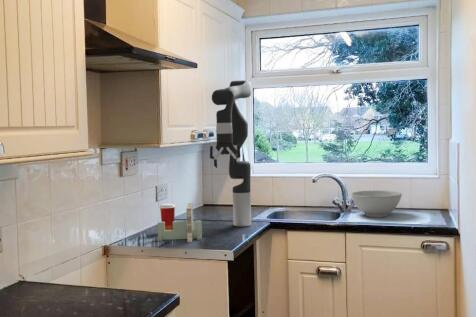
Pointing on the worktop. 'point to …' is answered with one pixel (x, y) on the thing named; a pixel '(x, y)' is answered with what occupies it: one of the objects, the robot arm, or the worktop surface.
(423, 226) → the worktop surface
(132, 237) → the worktop surface
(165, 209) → the paper cup
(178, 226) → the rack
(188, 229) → the beige flat panel
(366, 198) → the decorative bowl
